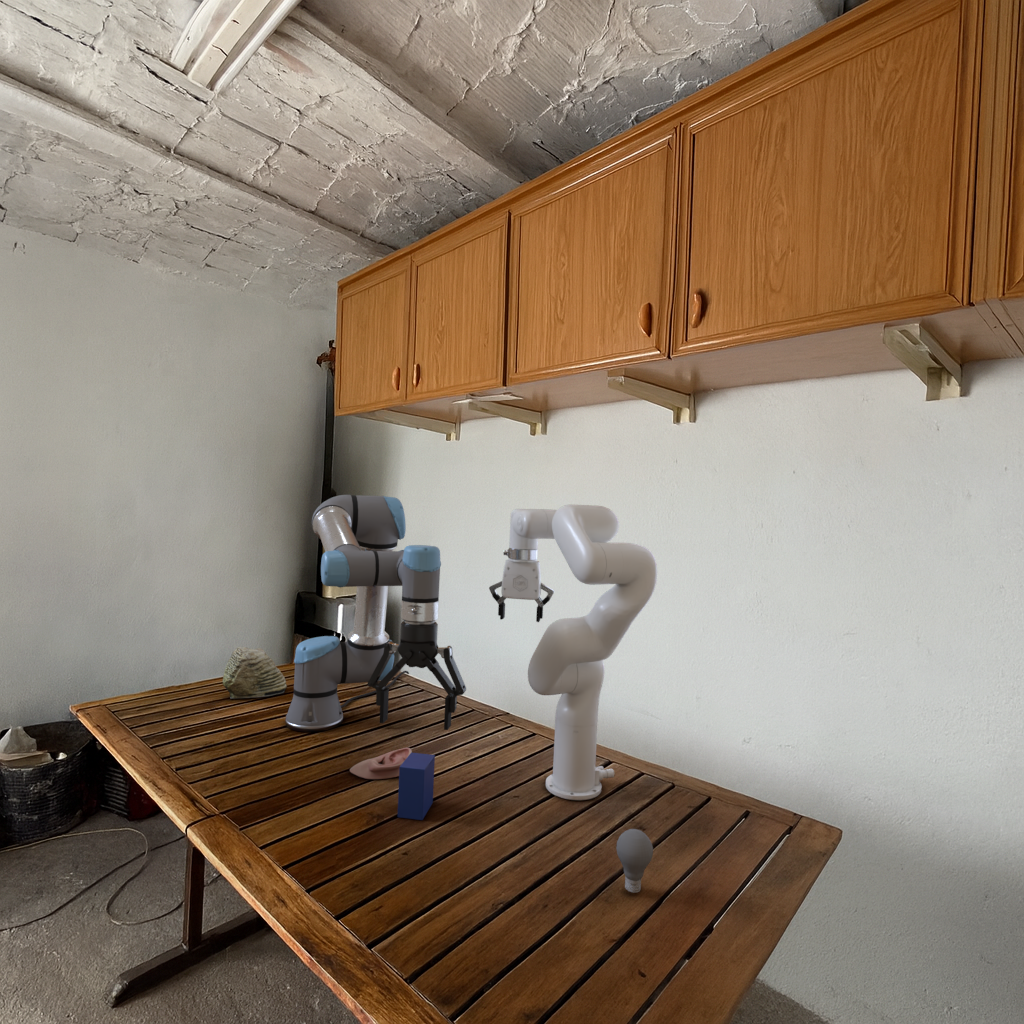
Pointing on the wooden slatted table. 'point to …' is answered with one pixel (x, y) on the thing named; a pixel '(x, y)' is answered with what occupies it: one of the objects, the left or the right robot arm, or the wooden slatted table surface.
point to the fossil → (252, 674)
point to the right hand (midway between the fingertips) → (520, 619)
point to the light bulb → (634, 857)
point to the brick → (416, 786)
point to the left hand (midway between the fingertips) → (415, 724)
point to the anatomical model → (382, 765)
